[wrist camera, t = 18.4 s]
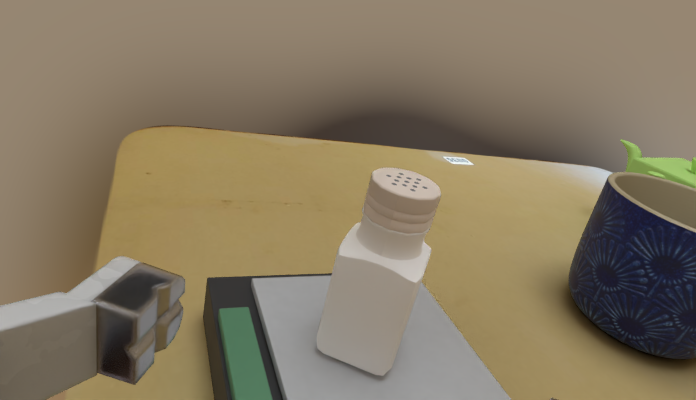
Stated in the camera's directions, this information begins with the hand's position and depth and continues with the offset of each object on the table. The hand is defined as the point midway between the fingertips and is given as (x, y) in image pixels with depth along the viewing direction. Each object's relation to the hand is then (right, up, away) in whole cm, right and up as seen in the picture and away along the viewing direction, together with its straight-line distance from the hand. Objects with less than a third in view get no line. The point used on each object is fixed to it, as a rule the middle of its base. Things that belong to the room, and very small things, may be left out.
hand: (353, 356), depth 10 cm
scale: (0, -7, +16) cm, 18 cm away
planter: (+23, -7, +30) cm, 38 cm away
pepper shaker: (0, -4, +15) cm, 15 cm away
